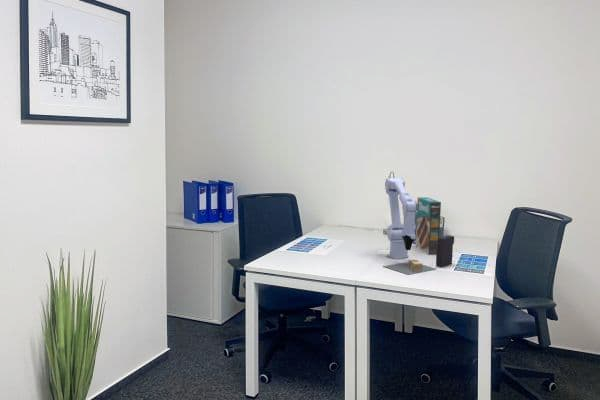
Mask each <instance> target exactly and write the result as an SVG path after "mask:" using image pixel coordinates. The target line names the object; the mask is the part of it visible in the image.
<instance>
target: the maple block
mask: <svg viewBox="0 0 600 400" xmlns="http://www.w3.org/2000/svg"><path fill="white" fill-rule="evenodd" d="M408 262H409V268H410V269H411V270H413V271H414V272H420V273H423V272H422V265H423V263H422V262H421V261H420V260H417V259H408Z"/></svg>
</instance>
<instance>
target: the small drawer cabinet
mask: <svg viewBox="0 0 600 400" xmlns="http://www.w3.org/2000/svg"><path fill="white" fill-rule="evenodd" d="M454 244H455V236H454V235H447V234H446V235H443V236H439V238H438V239H437V250H436V256H435V257H436V258H435V266H436V267H439V268H443V267H446V266H449V265H452V264H453V250H454V249H453V247H454Z"/></svg>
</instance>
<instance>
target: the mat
mask: <svg viewBox="0 0 600 400" xmlns="http://www.w3.org/2000/svg"><path fill="white" fill-rule="evenodd" d="M382 268H385V269H389V270H391V271H394V272H398V273H401V274H404V275H406V276H409V275H414V274H419V273H425V272H429V271H435V270H437V268H436V267H431V266H428V265H425V264H422V272H414V271H413V270H411V269H410V268H409V261H405V262H399V263H393V264H387V265H383V266H382Z"/></svg>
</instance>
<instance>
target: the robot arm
mask: <svg viewBox="0 0 600 400" xmlns="http://www.w3.org/2000/svg"><path fill="white" fill-rule="evenodd" d="M384 185H385V186H384V187H385V193H386V195H388V199H389V208H390V217H391V224H390V225H389V226H388V227H387V231H386V232H387V235H386V236H387V239H388V241H389V242H390V247H389V248H390V249H389V254H386V257H388V258H392V259H395V260H399V259H405V258H409V255H408V254H409V253H408V252H409V251H411V249H412V245H413V243H414V241H415V240H416V233H415V230H416V229H415V226H416V225H415V224H416V213H417V200H414V199H413V198H412V197H411V194H410V193H409V192H408V191H406V188H405V185H406V181H405V178H404V177H387V178H386V179H385V183H384ZM399 201H400V203H401V205H402V209H401V210H402V215H403V223H402V221H401V212H400V205H399V204H400V203H399Z"/></svg>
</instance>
